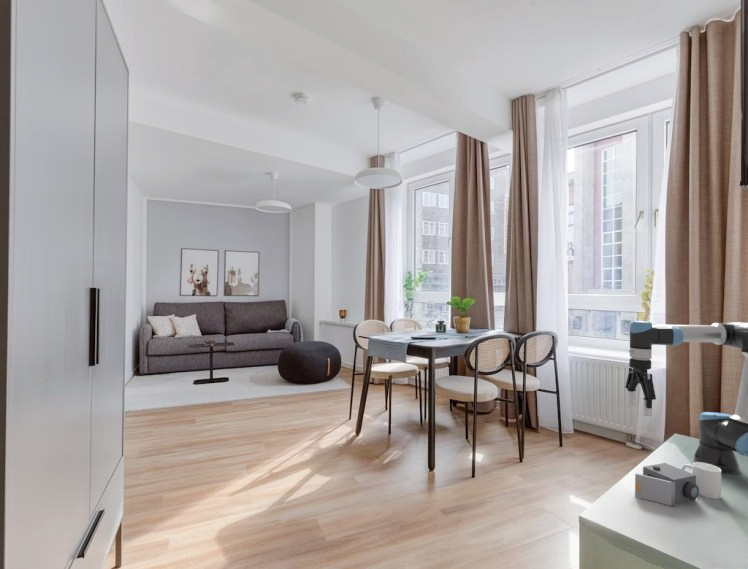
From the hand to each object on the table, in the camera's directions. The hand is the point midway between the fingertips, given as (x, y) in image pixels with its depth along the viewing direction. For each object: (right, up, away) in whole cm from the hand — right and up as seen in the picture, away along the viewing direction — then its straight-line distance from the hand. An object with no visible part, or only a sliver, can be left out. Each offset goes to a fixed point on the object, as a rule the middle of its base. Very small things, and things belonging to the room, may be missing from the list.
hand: (639, 411), depth 164 cm
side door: (-9, -25, -21) cm, 34 cm away
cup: (+15, -27, -13) cm, 33 cm away
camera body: (0, -26, -17) cm, 31 cm away
